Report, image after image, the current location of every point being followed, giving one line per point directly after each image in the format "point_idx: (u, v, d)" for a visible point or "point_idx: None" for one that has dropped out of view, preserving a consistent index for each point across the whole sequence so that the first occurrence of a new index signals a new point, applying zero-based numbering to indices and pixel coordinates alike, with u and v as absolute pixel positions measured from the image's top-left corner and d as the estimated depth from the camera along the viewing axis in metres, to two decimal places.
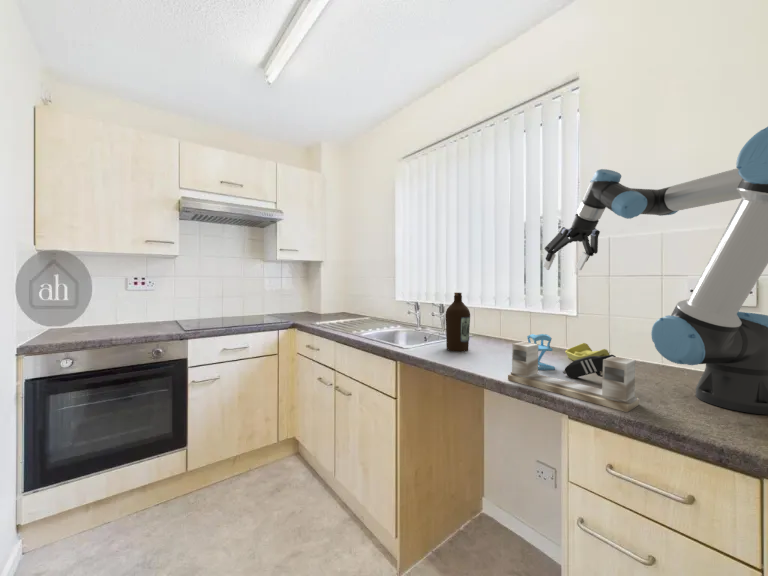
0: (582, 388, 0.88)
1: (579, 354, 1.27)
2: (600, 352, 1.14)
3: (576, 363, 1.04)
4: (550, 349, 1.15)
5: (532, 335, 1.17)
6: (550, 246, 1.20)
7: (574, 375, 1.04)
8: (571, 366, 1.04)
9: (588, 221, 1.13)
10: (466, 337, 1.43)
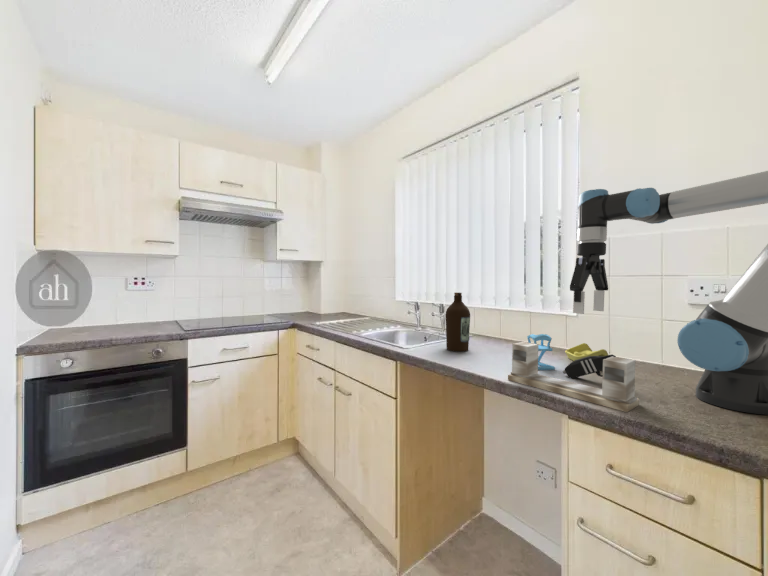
0: (582, 388, 0.88)
1: (579, 354, 1.27)
2: (598, 352, 1.14)
3: (576, 363, 1.04)
4: (550, 349, 1.15)
5: (532, 335, 1.17)
6: (577, 281, 0.96)
7: (574, 375, 1.04)
8: (571, 366, 1.04)
9: (600, 242, 0.98)
10: (466, 337, 1.43)
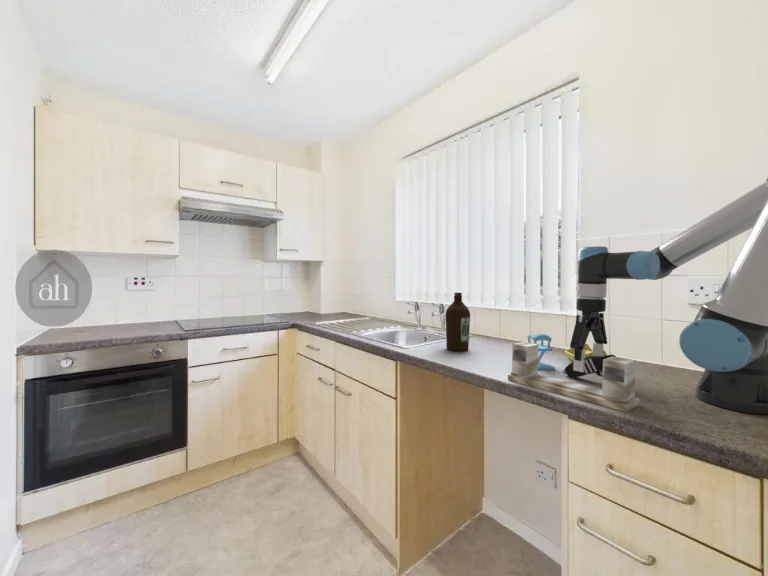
0: (582, 388, 0.88)
1: None
2: None
3: None
4: (550, 349, 1.15)
5: (532, 335, 1.17)
6: (577, 340, 0.95)
7: (574, 375, 1.04)
8: (571, 366, 1.04)
9: (600, 300, 0.98)
10: (466, 337, 1.43)
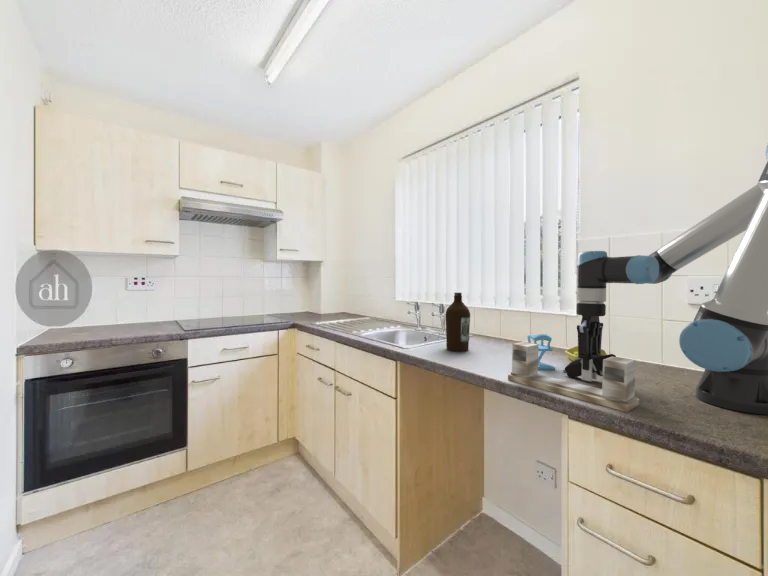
0: (582, 388, 0.88)
1: None
2: None
3: (576, 362, 1.04)
4: (550, 349, 1.15)
5: (532, 335, 1.17)
6: (584, 351, 0.98)
7: (574, 375, 1.04)
8: (571, 365, 1.04)
9: (600, 304, 0.98)
10: (466, 337, 1.43)
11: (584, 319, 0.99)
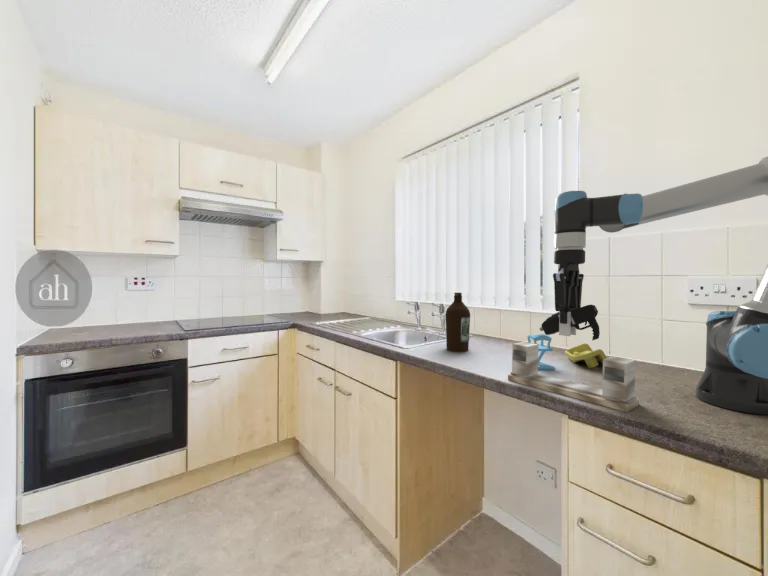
0: (582, 388, 0.88)
1: (578, 354, 1.27)
2: (594, 352, 1.14)
3: (553, 317, 0.94)
4: (550, 349, 1.15)
5: (532, 335, 1.17)
6: (561, 302, 0.88)
7: (551, 331, 0.94)
8: (548, 321, 0.95)
9: (578, 249, 0.88)
10: (466, 337, 1.43)
11: (561, 267, 0.90)
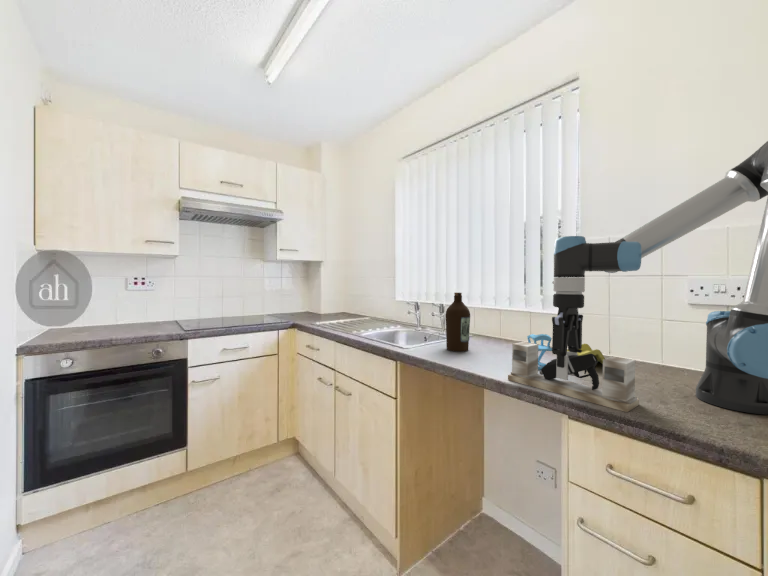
0: (582, 388, 0.88)
1: None
2: (592, 352, 1.14)
3: (553, 363, 0.94)
4: (550, 349, 1.15)
5: (532, 335, 1.17)
6: (558, 346, 0.88)
7: (551, 376, 0.95)
8: (548, 366, 0.95)
9: (577, 295, 0.88)
10: (466, 337, 1.43)
11: (560, 311, 0.90)
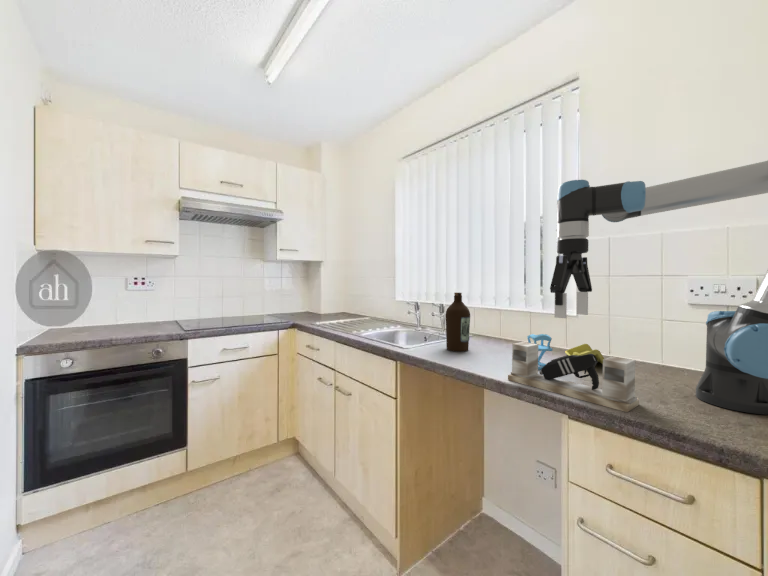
0: (582, 388, 0.88)
1: (577, 354, 1.27)
2: (591, 352, 1.14)
3: (552, 363, 0.94)
4: (550, 349, 1.15)
5: (532, 335, 1.17)
6: (557, 281, 0.86)
7: (550, 376, 0.95)
8: (548, 366, 0.95)
9: (582, 238, 0.88)
10: (466, 337, 1.43)
11: None
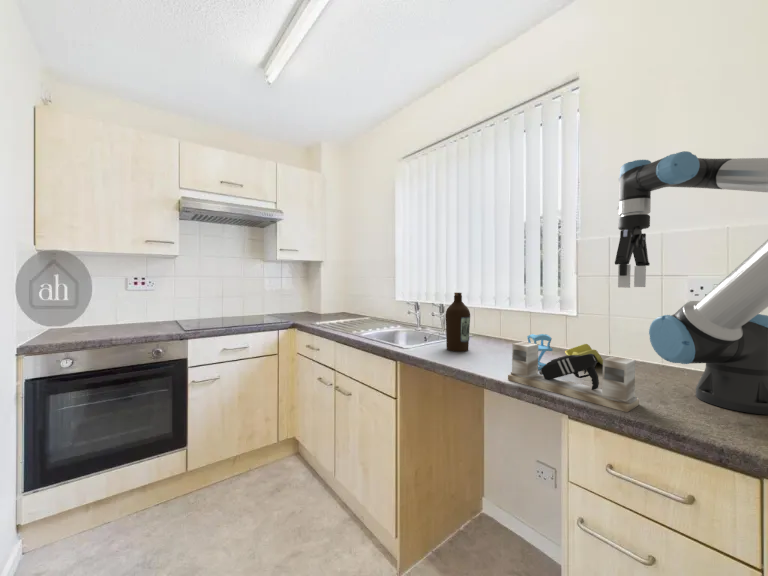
0: (582, 388, 0.88)
1: (576, 354, 1.27)
2: (589, 352, 1.14)
3: (552, 363, 0.95)
4: (550, 349, 1.15)
5: (532, 335, 1.17)
6: (623, 253, 0.93)
7: (550, 376, 0.95)
8: (548, 366, 0.95)
9: (645, 214, 0.95)
10: (466, 337, 1.43)
11: None
